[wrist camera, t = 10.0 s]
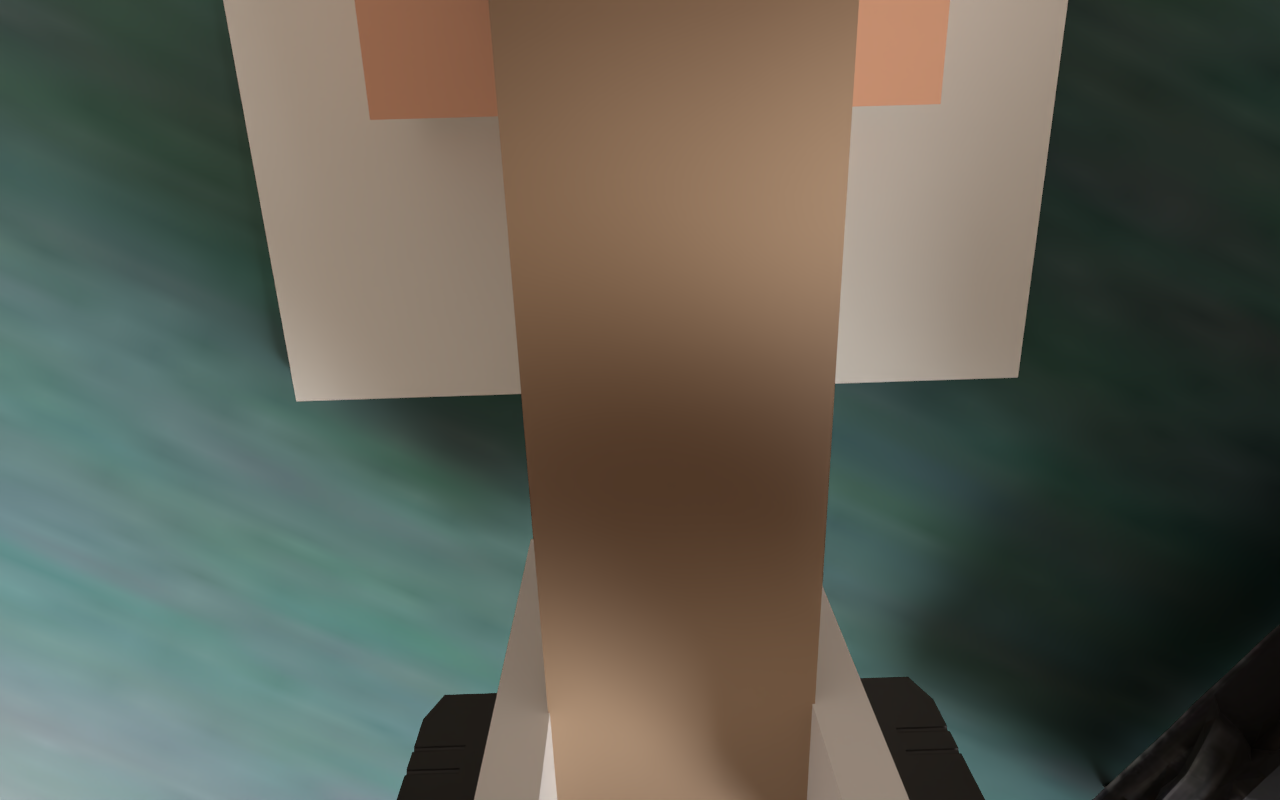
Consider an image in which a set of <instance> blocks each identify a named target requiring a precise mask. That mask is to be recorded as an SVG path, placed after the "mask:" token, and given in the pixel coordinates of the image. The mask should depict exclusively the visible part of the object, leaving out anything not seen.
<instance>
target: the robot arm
mask: <svg viewBox="0 0 1280 800" xmlns="http://www.w3.org/2000/svg"><path fill="white" fill-rule="evenodd" d="M397 800H557V791H556V779H555V768H554V756H553V744H552V733H551V721H550V713H548V708H547V696H546V684H545V672H544V660H543V648H542V636H541V624H540V612H539V600H538V588H537V576H536V564H535V552H534V540H533V539H531V541H530V546H529V550H528V555H527V560H526V564H525V569H524V573H523V578H522V582H521V587H520V592H519V596H518V601H517V605H516V610H515V614H514V619H513V624H512V628H511V633H510V637H509V642H508V646H507V651H506V656H505V660H504V665H503V669H502V674H501V678H500V683H499V688H498V692H497V693H488V694H460V695H444V696H443V698H442V699H441V700H440V701H439V702H438V703H437V704H436V706H435V707H434V708H433V709H432V710H431V711H430V712H429V713H428V715H427V716H426V717H425V718H424V719H423V722H422V725H421V728H420V731H419V734H418V737H417V740H416V743H415V746H414V752H412V755H411V758H410V761H409V764H408V767H407V775H405V777H404V780H403V783H402V786H401V789H400V792H399V795H398V798H397ZM807 800H985V799H984V797H983V795H982V793H981V791H980V789H979V787H978V785H977V783H976V781H975V780H974V778H973V776H972V774H971V772H970V770H969V768H968V766H967V764H966V762H965V760H964V758H963V756H962V754H959V751H958V747H957V745H956V743H955V741H954V739H953V737H952V735H951V733H950V731H947V725H946V723H945V721H944V719H943V718H942V716H941V714H940V712H939V710H938V708H937V706H936V704H935V702H934V700H933V699H932V698H931V697H930V696H929V695H928V694H927V693H925V692H924V691H923V690H922V689H921V688H920V687H919V686H918V685H916V684H915V683H914V682H913V681H912V680H911V679H910V678H909V677H888V678H860V677H859V675H858V672H857V670H856V667H855V665H854V663H853V660H852V658H851V655H850V653H849V650H848V648H847V645H846V643H845V640H844V638H843V636H842V633H841V631H840V628H839V626H838V623H837V621H836V618H835V616H834V613H833V611H832V609H831V606H830V604H829V601H828V599H827V596H826V594H825V591H824V589H823V586H822V598H821V614H820V630H819V646H818V662H817V678H816V694H815V704H812V720H811V737H810V754H809V772H808V789H807Z"/></svg>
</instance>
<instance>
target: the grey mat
mask: <svg viewBox="0 0 1280 800" xmlns="http://www.w3.org/2000/svg"><path fill="white" fill-rule="evenodd" d="M223 2H224V8H225V13H226V19H227V24H228V30H229V35H230V40H231V46H232V51H233V57H234V62H235V68H236V73H237V79H238V84H239V90H240V95H241V101H242V106H243V112H244V117H245V123H246V128H247V134H248V139H249V145H250V150H251V156H252V161H253V167H254V172H255V178H256V183H257V188H258V194H259V199H260V205H261V210H262V216H263V221H264V227H265V232H266V238H267V243H268V249H269V254H270V260H271V265H272V271H273V276H274V282H275V287H276V293H277V298H278V304H279V309H280V315H281V320H282V326H283V331H284V336H285V342H286V347H287V353H288V358H289V364H290V369H291V375H292V380H293V386H294V391H295V397H296V401H322V400H353V399H383V398H413V397H443V396H474V395H504V394H521V385H520V373H519V361H518V349H517V337H516V325H515V313H514V301H513V289H512V277H511V265H510V253H509V241H508V229H507V217H506V205H505V193H504V182H503V170H502V158H501V146H500V134H499V122H498V116H494V117H458V118H422V119H385V120H370V116H369V108H368V100H367V93H366V85H365V77H364V70H363V62H362V54H361V47H360V39H359V31H358V24H357V16H356V8H355V1H354V0H223ZM1067 5H1068V0H950V7H949V18H948V29H947V39H946V50H945V61H944V72H943V83H942V94H941V104H928V105H892V106H855V107H852V121H851V137H850V153H849V169H848V185H847V200H846V216H845V232H844V248H843V264H842V280H841V296H840V312H839V328H838V344H837V360H836V375H835V384H837V383H867V382H898V381H928V380H958V379H988V378H1018V373H1019V365H1020V358H1021V350H1022V343H1023V335H1024V328H1025V320H1026V313H1027V305H1028V298H1029V290H1030V283H1031V275H1032V268H1033V260H1034V253H1035V245H1036V238H1037V230H1038V223H1039V215H1040V208H1041V200H1042V193H1043V185H1044V178H1045V170H1046V163H1047V155H1048V148H1049V140H1050V133H1051V125H1052V118H1053V110H1054V102H1055V95H1056V87H1057V80H1058V72H1059V65H1060V57H1061V50H1062V42H1063V35H1064V27H1065V20H1066V12H1067Z"/></svg>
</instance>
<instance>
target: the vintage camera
mask: <svg viewBox="0 0 1280 800" xmlns="http://www.w3.org/2000/svg"><path fill="white" fill-rule="evenodd" d="M1103 786H1104V785H1103ZM1104 787H1105V788H1104V789H1103V790H1102V791H1101V792H1100V793H1099V794H1098V795H1097V796H1096V797H1095V798H1094V799H1093V800H1280V624H1279V625H1278V626H1277V627H1276V628H1275V629H1274V630H1272V631H1271V632H1270V633H1269V634H1268V635H1267V636H1266V637H1265V638H1264V639H1263V640H1262V641H1260V642H1259V643H1258V644H1257V645H1256V646H1255V647H1254V648H1253V649H1252V650H1251V651H1250V652H1249V653H1248V654H1247V655H1246V656H1245V657H1244V658H1242V659H1241V660H1240V661H1239V662H1238V663H1237V664H1236V665H1235V666H1234V667H1233V668H1232V669H1231V670H1230V671H1229V672H1228V673H1227V674H1226V675H1224V676H1223V677H1222V678H1221V679H1220V680H1219V681H1218V682H1217V683H1216V684H1215V685H1214V686H1212V687H1211V688H1210V689H1209V690H1208V691H1207V692H1206V693H1205V694H1204V695H1203V696H1202V697H1201V698H1199V699H1198V700H1197V701H1196V702H1195V703H1194V704H1193V705H1192V706H1191V707H1190V708H1189V709H1188V710H1187V711H1186V712H1185V713H1184V714H1183V715H1182V716H1181V717H1180V718H1179V719H1178V720H1177V721H1176V722H1175V723H1174V724H1173V725H1172V726H1171V727H1170V728H1169V729H1168V730H1167V731H1166V732H1164V733H1163V734H1162V735H1161V736H1160V737H1159V738H1158V739H1157V740H1156V741H1155V742H1154V743H1153V744H1152V745H1150V746H1149V747H1148V748H1147V749H1146V750H1145V751H1144V752H1143V753H1142V754H1141V755H1140V756H1139V757H1137V758H1136V759H1135V760H1134V761H1133V762H1132V763H1131V764H1130V765H1129V766H1128V767H1127V768H1126V769H1125V770H1124V771H1123V772H1121V773H1120V774H1119V775H1118V776H1117V777H1116V778H1115V779H1114V780H1113V781H1112V782H1111V783H1110V784H1109V785H1108V786H1104Z"/></svg>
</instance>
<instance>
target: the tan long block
mask: <svg viewBox="0 0 1280 800" xmlns="http://www.w3.org/2000/svg"><path fill="white" fill-rule="evenodd" d="M488 2H489V14H490V26H491V38H492V50H493V62H494V74H495V86H496V98H497V110H498V122H499V134H500V146H501V158H502V170H503V182H504V193H505V205H506V217H507V229H508V241H509V253H510V265H511V277H512V289H513V301H514V313H515V325H516V337H517V349H518V361H519V373H520V385H521V397H522V409H523V421H524V433H525V445H526V457H527V469H528V481H529V492H530V504H531V516H532V528H533V540H534V552H535V564H536V576H537V588H538V600H539V612H540V624H541V636H542V648H543V660H544V672H545V684H546V696H547V708H548V713H550V721H551V733H552V744H553V756H554V768H555V779H556V791H557V800H807V789H808V772H809V754H810V737H811V720H812V704H815V694H816V678H817V662H818V646H819V630H820V614H821V598H822V582H823V566H824V551H825V535H826V519H827V503H828V487H829V471H830V455H831V439H832V423H833V407H834V391H835V375H836V360H837V344H838V328H839V312H840V296H841V280H842V264H843V248H844V232H845V216H846V200H847V185H848V169H849V153H850V137H851V121H852V105H853V89H854V73H855V57H856V41H857V25H858V9H859V0H488Z"/></svg>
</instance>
